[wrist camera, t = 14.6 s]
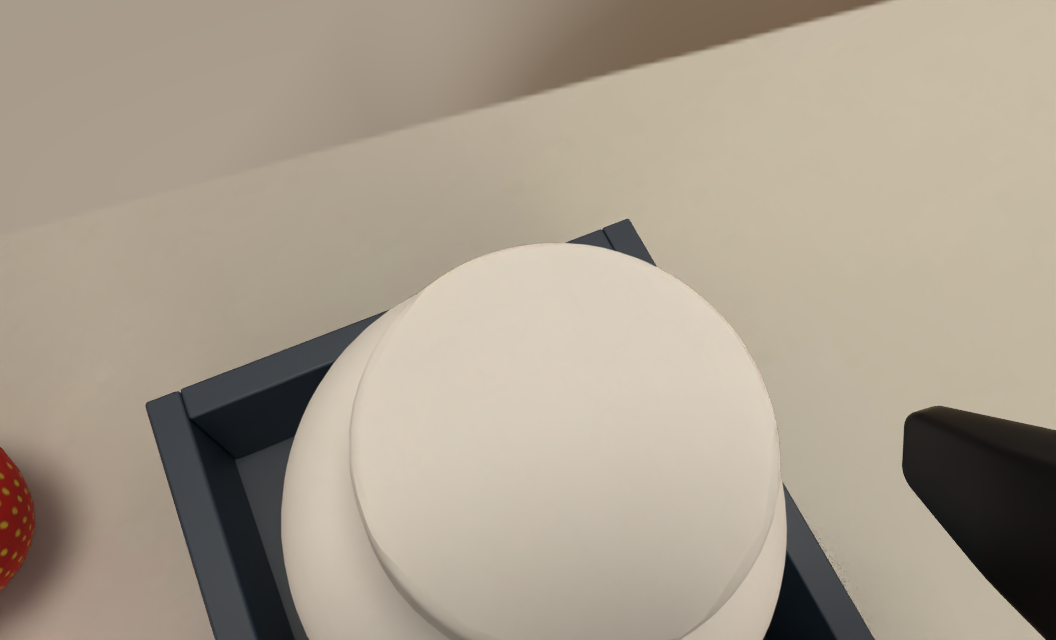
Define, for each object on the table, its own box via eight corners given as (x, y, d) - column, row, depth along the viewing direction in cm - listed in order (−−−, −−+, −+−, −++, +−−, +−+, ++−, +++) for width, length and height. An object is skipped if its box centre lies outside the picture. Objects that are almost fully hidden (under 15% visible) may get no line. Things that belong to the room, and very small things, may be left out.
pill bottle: (613, 761, 19) (900, 956, 7) (320, 686, 19) (63, 740, 7) (661, 466, 22) (919, 222, 10) (407, 403, 22) (342, 83, 10)
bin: (364, 952, 18) (334, 1043, 13) (203, 450, 22) (143, 401, 18) (818, 687, 20) (908, 695, 16) (600, 290, 25) (628, 217, 20)
